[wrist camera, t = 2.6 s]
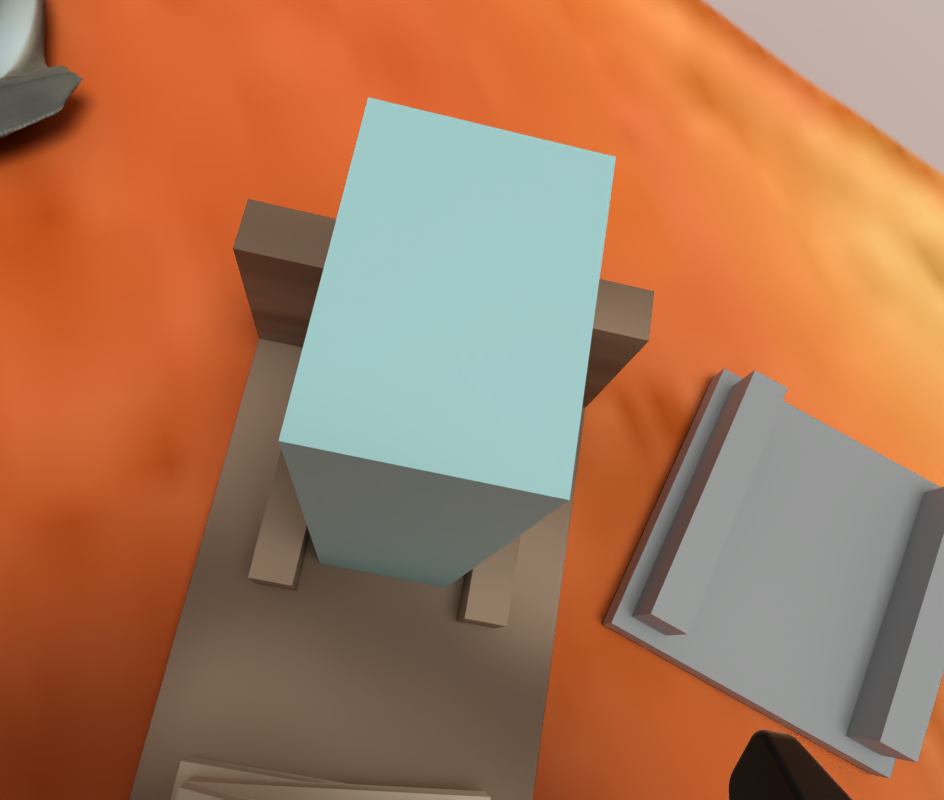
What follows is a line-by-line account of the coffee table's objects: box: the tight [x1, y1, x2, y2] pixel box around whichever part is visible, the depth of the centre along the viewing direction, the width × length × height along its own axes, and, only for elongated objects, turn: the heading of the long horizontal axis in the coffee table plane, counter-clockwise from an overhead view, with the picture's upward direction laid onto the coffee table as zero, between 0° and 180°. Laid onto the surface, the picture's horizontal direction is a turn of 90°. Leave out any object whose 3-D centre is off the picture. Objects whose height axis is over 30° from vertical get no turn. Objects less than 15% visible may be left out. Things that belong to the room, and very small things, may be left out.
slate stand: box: [602, 369, 944, 778], centre depth 21 cm, size 8×8×2 cm
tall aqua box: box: [279, 97, 616, 587], centre depth 15 cm, size 4×3×12 cm
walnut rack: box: [129, 199, 654, 800], centre depth 17 cm, size 16×9×6 cm, turn 170°
